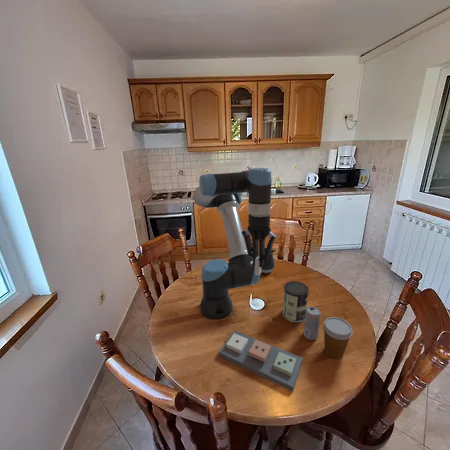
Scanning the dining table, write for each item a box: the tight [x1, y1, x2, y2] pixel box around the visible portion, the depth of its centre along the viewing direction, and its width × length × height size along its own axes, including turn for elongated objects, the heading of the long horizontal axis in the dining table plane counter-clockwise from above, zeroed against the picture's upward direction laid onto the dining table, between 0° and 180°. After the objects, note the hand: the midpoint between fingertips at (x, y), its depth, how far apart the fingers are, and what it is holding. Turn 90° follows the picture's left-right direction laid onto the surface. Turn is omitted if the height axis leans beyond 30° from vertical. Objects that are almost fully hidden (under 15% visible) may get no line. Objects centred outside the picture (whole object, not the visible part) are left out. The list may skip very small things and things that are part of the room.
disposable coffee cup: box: [322, 316, 354, 360], centre depth 85 cm, size 10×10×12 cm
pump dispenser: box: [261, 247, 276, 274], centre depth 140 cm, size 10×10×15 cm
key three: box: [273, 352, 296, 376], centre depth 80 cm, size 6×6×4 cm
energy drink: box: [303, 305, 321, 341], centre depth 93 cm, size 5×5×12 cm
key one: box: [226, 333, 248, 354], centre depth 89 cm, size 6×6×4 cm
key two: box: [249, 339, 271, 362], centre depth 84 cm, size 6×6×4 cm
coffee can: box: [282, 280, 310, 323], centre depth 104 cm, size 10×10×14 cm
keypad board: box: [218, 330, 303, 392], centre depth 85 cm, size 27×12×2 cm, turn 60°
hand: (258, 273), depth 90 cm, fingers closed
